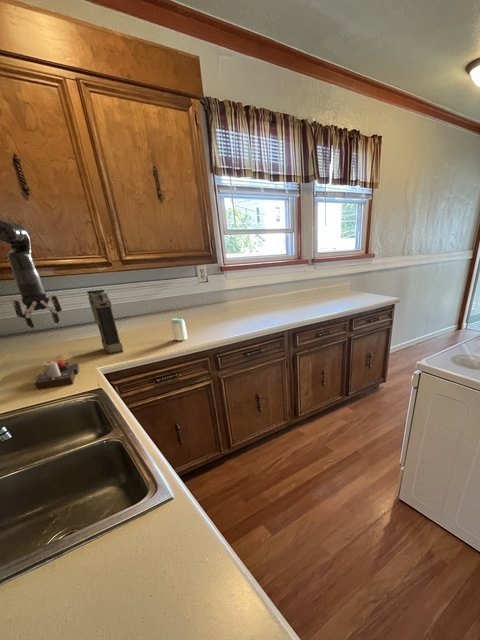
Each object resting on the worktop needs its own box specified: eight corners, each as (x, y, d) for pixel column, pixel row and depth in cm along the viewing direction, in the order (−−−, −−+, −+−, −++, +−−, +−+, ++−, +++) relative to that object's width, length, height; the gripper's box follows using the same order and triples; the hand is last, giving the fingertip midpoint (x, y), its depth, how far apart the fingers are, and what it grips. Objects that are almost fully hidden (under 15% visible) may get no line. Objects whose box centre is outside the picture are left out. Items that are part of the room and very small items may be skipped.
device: (101, 348, 174) (85, 290, 160) (117, 345, 179) (101, 288, 165) (109, 355, 165) (91, 293, 151) (125, 351, 169) (109, 291, 156)
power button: (54, 367, 139) (53, 363, 138) (55, 365, 142) (54, 361, 141) (64, 366, 141) (63, 362, 140) (65, 363, 143) (64, 360, 143)
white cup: (60, 376, 132) (55, 363, 129) (47, 378, 130) (41, 365, 127) (61, 373, 135) (56, 359, 132) (48, 375, 133) (43, 361, 131)
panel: (37, 390, 127) (34, 382, 126) (41, 381, 135) (38, 374, 134) (73, 384, 132) (70, 377, 131) (75, 376, 140) (72, 369, 139)
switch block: (45, 379, 137) (41, 370, 135) (47, 372, 144) (44, 364, 142) (78, 374, 142) (75, 365, 140) (79, 368, 149) (76, 359, 147)
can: (172, 339, 189) (169, 318, 184) (184, 337, 193) (181, 316, 187) (176, 342, 184) (173, 321, 179) (189, 340, 188) (185, 319, 182)
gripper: (46, 279, 128) (60, 320, 136) (1, 283, 118) (19, 327, 125) (54, 280, 125) (68, 322, 132) (9, 285, 114) (27, 330, 121)
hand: (44, 325), depth 129 cm, fingers open, 8 cm apart
